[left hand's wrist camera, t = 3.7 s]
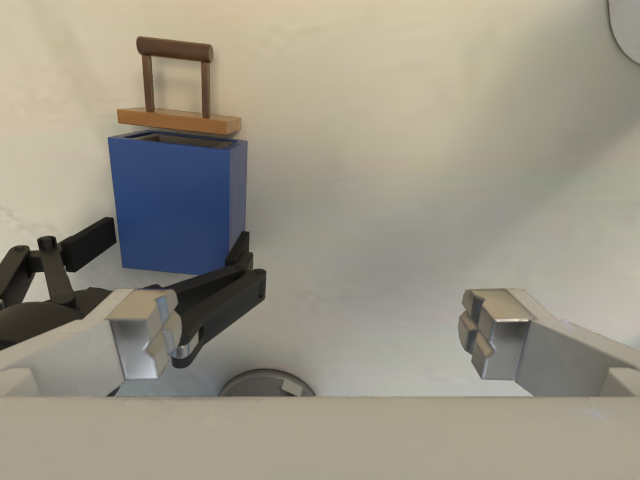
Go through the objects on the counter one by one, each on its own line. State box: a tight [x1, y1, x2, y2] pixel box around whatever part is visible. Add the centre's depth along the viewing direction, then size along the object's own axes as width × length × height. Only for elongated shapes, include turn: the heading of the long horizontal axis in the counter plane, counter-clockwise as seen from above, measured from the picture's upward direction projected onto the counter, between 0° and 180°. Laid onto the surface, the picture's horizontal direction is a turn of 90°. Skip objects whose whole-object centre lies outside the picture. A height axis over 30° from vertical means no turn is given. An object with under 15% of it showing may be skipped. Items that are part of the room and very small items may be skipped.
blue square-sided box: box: [108, 130, 247, 275], centre depth 38 cm, size 13×11×8 cm
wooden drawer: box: [117, 36, 241, 149], centre depth 36 cm, size 18×10×6 cm, turn 174°
